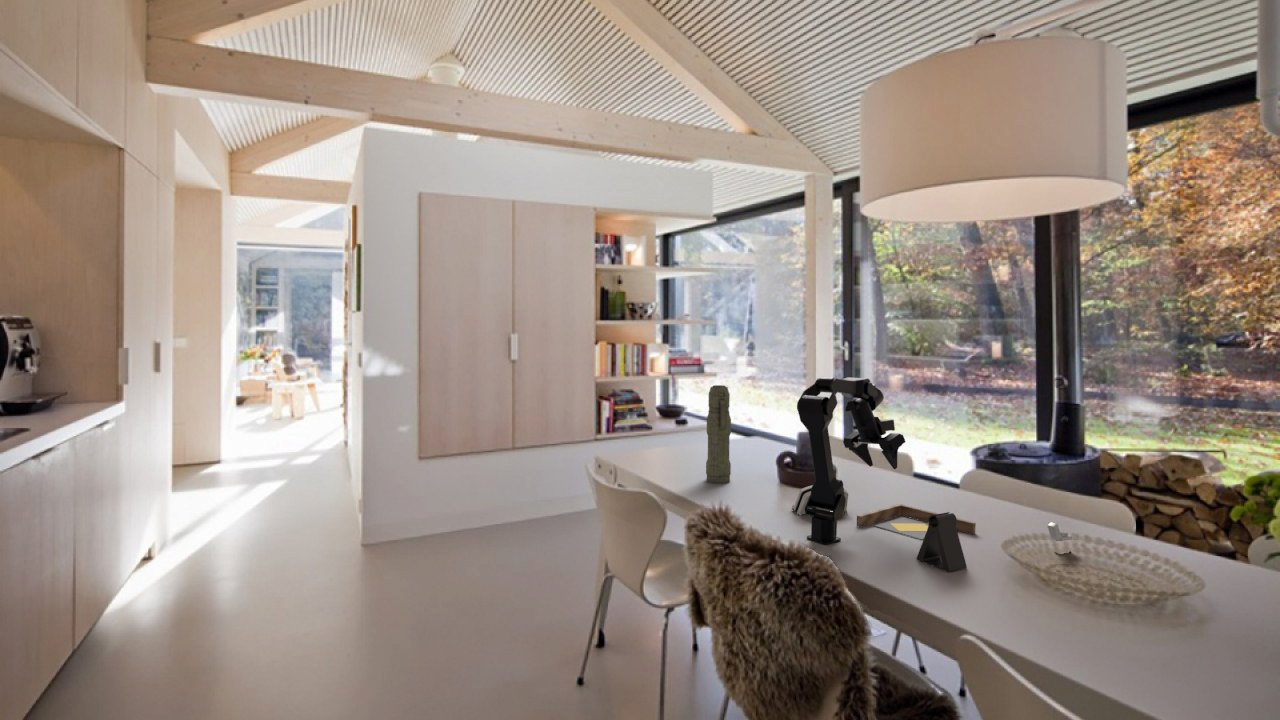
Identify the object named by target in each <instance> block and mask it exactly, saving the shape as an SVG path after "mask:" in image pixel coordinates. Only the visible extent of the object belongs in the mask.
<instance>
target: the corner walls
mask: <svg viewBox="0 0 1280 720" xmlns="http://www.w3.org/2000/svg"><path fill="white" fill-rule="evenodd" d="M936 514H939V513H938V512H933V511H929V510H926V509H923V508H917V507H913V506H909V505H906V504H898V503H897V504H895V505H891V506H886V507H883V508H880V509H876V510H871V511H868V512H865V513H861V514H857V515H856V527H858V526H859V528H862V527H865V525H866V526H869V525H872V523H873V524H876V523H878V522H882V521H886V520H890V519H893V518H895V517H900V516H902V517H905V516H907V517H906V518H909V517H911V518H910V519H913V518H914V519H913V520H917V519H918V520H917V521H920V520H921V521H920V522H923V523H928V519H929V517H930V516H931V515H936ZM976 523H977V522H974V521H969V520H966V519H963V518H962V519H961V518H958V517H956V529H957V532H958V531H959V532H962V533H965V534H966V533H967V534H970V535H975V534H976V527H977V526H976Z"/></svg>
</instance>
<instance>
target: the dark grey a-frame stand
mask: <svg viewBox="0 0 1280 720" xmlns="http://www.w3.org/2000/svg"><path fill="white" fill-rule="evenodd" d="M956 518H957V517H956V515H955V514H954V513H953V512H950V511H948V512H942V513H938V514H936V515H931V516H930V517H929V519H928V522H927V524H929V525H928V529H927V532H926V535H925V537H924V540H922V543H921V545H920V548H919V551H918V553H917V556H916V560H917V561H918V560H919V561H918V562H921V561H922V562H921V563H923V562H924V564H926V563H927V564H926V565H929V566H931V565H933V568H937V569H939V570H942V571H944V572H946V573H952V572H956V571H960V570H964V569H967V567H968V566H967V563H966V562H967V561H966V558H965V555H964V552H963V548H962V544H961V540H960V537H959V536H960V535H959V532H958V530H957V529H956Z"/></svg>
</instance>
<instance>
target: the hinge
mask: <svg viewBox="0 0 1280 720" xmlns="http://www.w3.org/2000/svg"><path fill="white" fill-rule="evenodd" d="M812 486H813V484H812V485H809V486H805V487H803V488H801V489H800V490H799V492H798V494H797V497H796V500H795V503H794V504H793V505H792V506H791V509H790V511H791V510H794V511H793V512H795V511H796V514H797V515H798V514H799V515H798V516H802V515H801V514H805V506H806V504H807V501H808V499H809V497H810V494H811V488H812ZM844 492H845V494H844V496H845V498H846V502H845V508H844V512H847V510H848V509H847V508H848V501H849V493H848V491H847V489H845V488H844ZM816 509H820V510H825V511H829V512H830V511H831V510H826V509H821V508H817V507H816Z"/></svg>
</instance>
